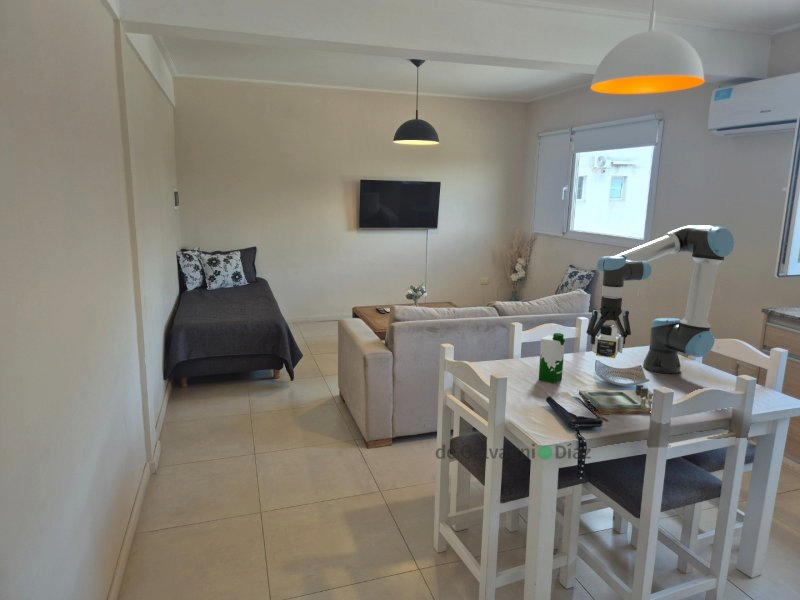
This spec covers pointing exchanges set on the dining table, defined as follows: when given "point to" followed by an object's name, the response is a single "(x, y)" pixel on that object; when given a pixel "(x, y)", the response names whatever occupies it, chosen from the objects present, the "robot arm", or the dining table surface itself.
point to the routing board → (620, 400)
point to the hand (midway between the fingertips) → (606, 352)
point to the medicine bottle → (607, 342)
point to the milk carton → (552, 358)
